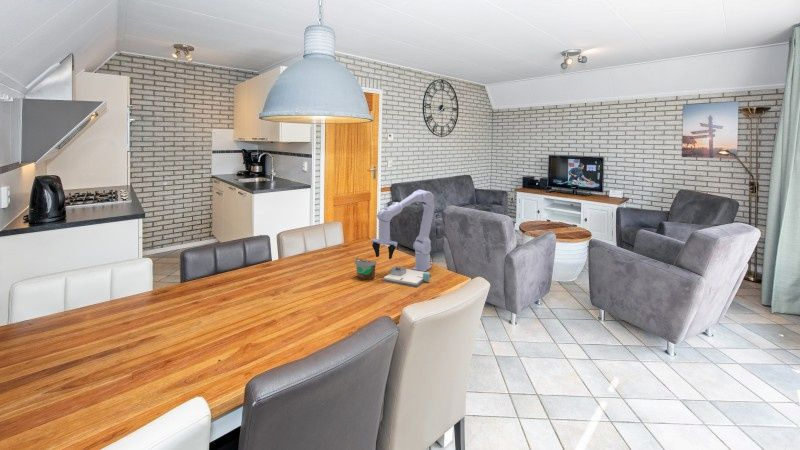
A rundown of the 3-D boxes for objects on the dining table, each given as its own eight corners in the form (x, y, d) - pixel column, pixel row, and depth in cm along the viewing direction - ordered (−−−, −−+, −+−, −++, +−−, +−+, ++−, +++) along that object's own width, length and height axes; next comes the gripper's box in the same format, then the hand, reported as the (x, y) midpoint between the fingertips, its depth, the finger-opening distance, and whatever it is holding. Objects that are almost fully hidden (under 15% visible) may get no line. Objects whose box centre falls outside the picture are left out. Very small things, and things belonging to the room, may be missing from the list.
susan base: (398, 270, 225) (398, 269, 225) (431, 276, 217) (431, 274, 217) (382, 281, 208) (382, 279, 208) (416, 287, 200) (416, 286, 200)
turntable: (399, 269, 224) (399, 263, 223) (435, 275, 215) (435, 269, 214) (383, 279, 208) (384, 272, 207) (422, 286, 199) (422, 279, 198)
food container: (350, 278, 211) (349, 259, 209) (356, 275, 216) (356, 257, 214) (370, 282, 206) (370, 263, 203) (376, 279, 211) (376, 260, 209)
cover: (395, 270, 218) (395, 264, 218) (406, 272, 216) (406, 266, 215) (389, 274, 213) (389, 267, 212) (400, 276, 210) (400, 269, 209)
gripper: (368, 232, 213) (368, 257, 215) (393, 235, 207) (392, 261, 209) (374, 229, 219) (374, 254, 222) (399, 233, 213) (398, 258, 216)
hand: (383, 257), depth 216 cm, fingers open, 7 cm apart
